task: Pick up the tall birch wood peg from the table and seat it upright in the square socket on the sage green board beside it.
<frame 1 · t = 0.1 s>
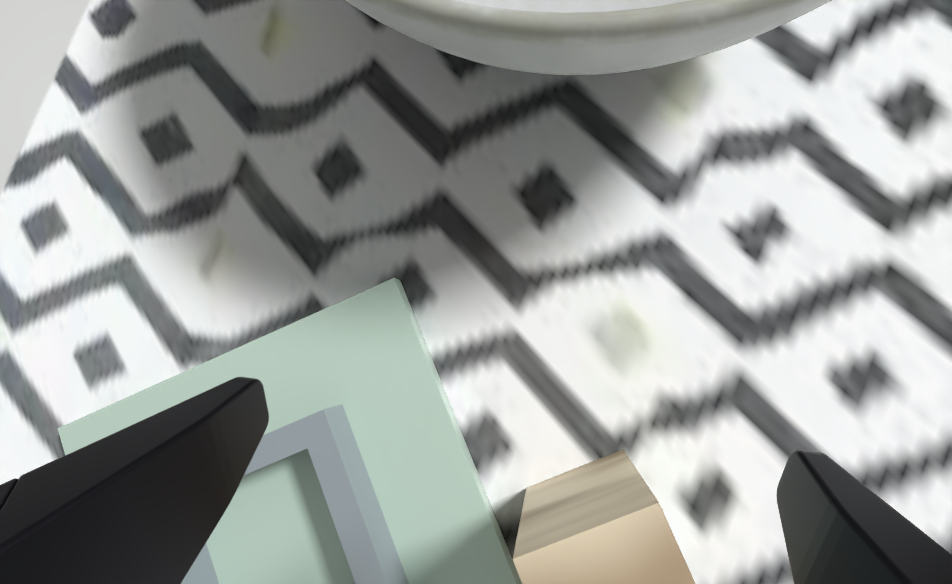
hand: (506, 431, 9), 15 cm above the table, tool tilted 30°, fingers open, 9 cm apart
birch peg: (596, 519, 23), on the table
socket board: (295, 537, 25), on the table
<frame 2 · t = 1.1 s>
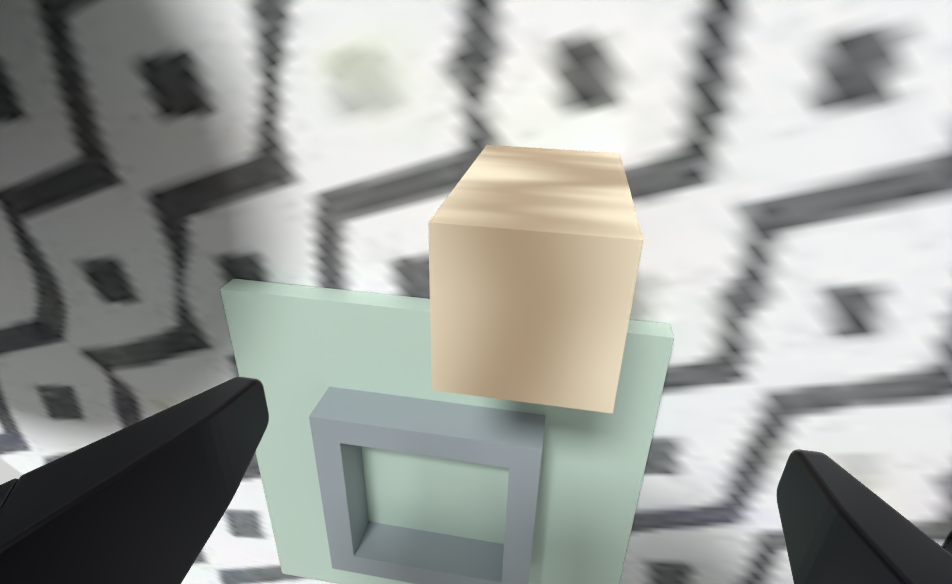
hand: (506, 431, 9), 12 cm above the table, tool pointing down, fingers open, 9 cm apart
birch peg: (546, 212, 19), on the table
socket board: (440, 465, 26), on the table
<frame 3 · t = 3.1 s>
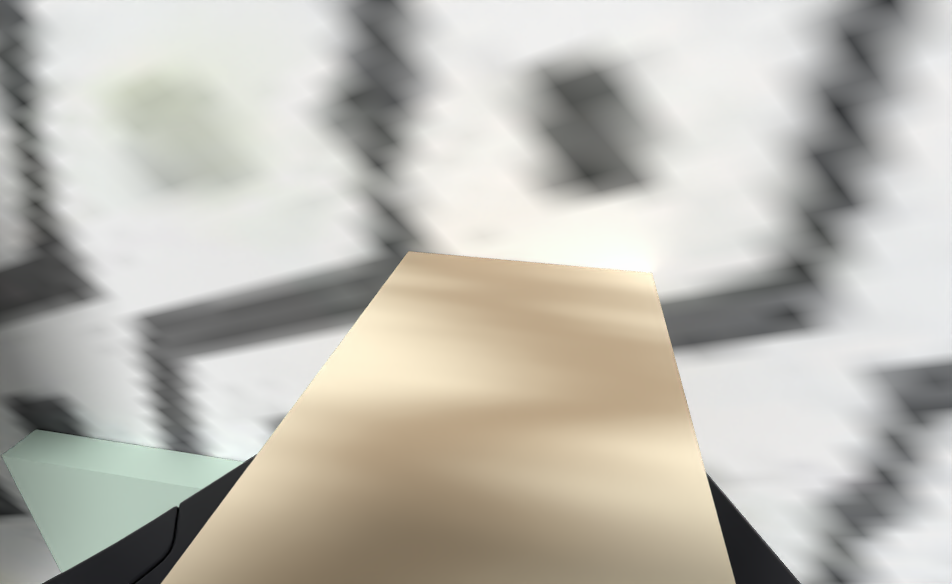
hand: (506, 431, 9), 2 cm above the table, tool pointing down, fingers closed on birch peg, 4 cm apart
birch peg: (519, 362, 11), on the table, touching gripper
when the fingers open (4 cm above the table, at t = 9.8 s): birch peg drops 1 cm, resting on socket board.
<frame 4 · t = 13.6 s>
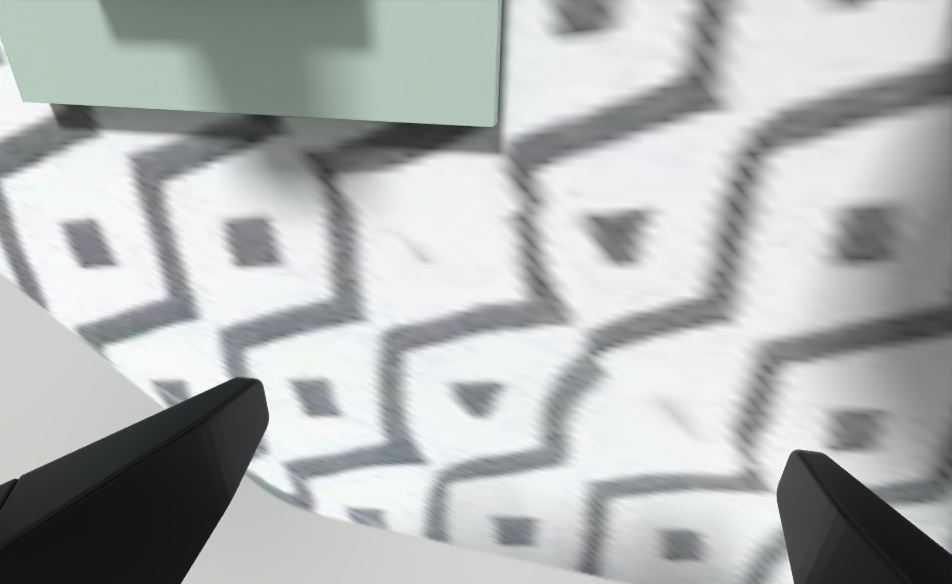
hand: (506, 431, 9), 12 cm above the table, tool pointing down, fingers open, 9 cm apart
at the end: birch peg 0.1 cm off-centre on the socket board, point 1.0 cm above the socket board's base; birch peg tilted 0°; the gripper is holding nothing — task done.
